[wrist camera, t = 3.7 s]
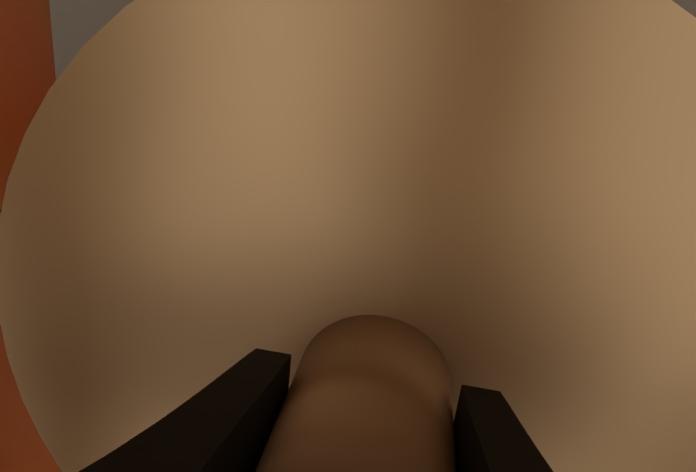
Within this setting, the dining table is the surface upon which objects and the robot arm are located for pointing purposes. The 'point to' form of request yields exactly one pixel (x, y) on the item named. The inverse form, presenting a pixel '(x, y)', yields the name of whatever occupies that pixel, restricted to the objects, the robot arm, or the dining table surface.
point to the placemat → (105, 3)
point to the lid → (365, 227)
